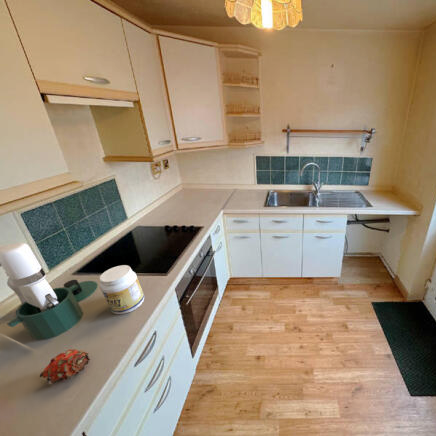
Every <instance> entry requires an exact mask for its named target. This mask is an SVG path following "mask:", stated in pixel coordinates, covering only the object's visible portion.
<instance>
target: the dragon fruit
mask: <svg viewBox="0 0 436 436" xmlns="http://www.w3.org/2000/svg"><path fill="white" fill-rule="evenodd" d="M90 361H91V359H90V357H89V351H86V350H83V349H78V350H77V349H67V350H66V351H65V352H60V353H59V354H57V355H56V356H55V357H53V358H51V359H50V362H49V363H48V365H47V366H46V367H45V368H44V369H43V370H42V371H41V372H40V374H39V377H40V378H43V379H46V381H48V382H47V384H48V385H49V386H53V384H54V383H55V382H57V381H58V380H60V379H61V378H62V381H63V382H65V381H68V380H69V379H72V378H73V377H74V375H77V374H78V373H80V372H82V371H83V370H84V369H85V366H87V365H88V364H89V363H90Z"/></svg>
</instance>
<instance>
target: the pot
mask: <svg viewBox="0 0 436 436" xmlns="http://www.w3.org/2000/svg"><path fill="white" fill-rule="evenodd" d="M77 288H79V286H78V285H75V284H74V285H72V286H71V287H69V288H66V287H64V286H63V287H55V288H52V289H53V291H54V292H55V294H56V296H57V300H56V301H58V302H59V305H57V306H56V307H53V308H51V309H48V310H46V311H44V312H41V313H40V312H39V311H38V309H37V308H36V306H33V305H31V304H29V303H27V302H26V301H25V302H24V303H23V304H22V303H21V304H20V305H19V306H18V307H17V308H16V310H15V316H16V317H15V318H13V319H11V320H10V321H7V322H6V324H7V326H8V327H12V328H14V327H15V326H17V325H18V324H20V323H21V324H22V326H23V327H24V328H25V329H26V331H27V332H28V334H29V335H30V336H31V338H33V339H34V340H36V341H45V340H49V339H52V338H55V337H58V336H60V335H61V334H64V333H66V332H68V331H69V330H70V329H72V328H73V327H75V326H76V325H77V324H78V323H79V322H80V321H81V320H82V318H83V316H84V310H83V308H81V305H80V304H79V302H77V300H76V298H75V296H74V295H73V293H72V291H74V290H75V289H77Z"/></svg>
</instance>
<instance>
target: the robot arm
mask: <svg viewBox="0 0 436 436" xmlns="http://www.w3.org/2000/svg"><path fill="white" fill-rule="evenodd" d="M0 267H2V268H3V271H6V273H7V274H8V276H7V277H8V278H9V277H10V279H11V280H12V282H13V283H14V285H15V286H16V287H18V288H19V290H20V292H21V293H22V295H23V297H24V298H25V300H26V302H27V303H29V304H31V305H33V306H36V308H37V309H38V311H39V312H40V313H41V312H42V311H41V310H40V308H44V307H46V308H47V309H51V308H53V307H56V306H57V305H59V302H58V301H56V300H57V296H56V294H55V292H54V291H53V289H54V288H52V286H51V285H50V283H49V282H48V281H47V279H46V276H47V273H46V272H45V271H44V269H43V267H42V265H41V264H40V262H39V260H38V258H37V257H36V255H35V253H34V252H33V250H32V248H31V247H30V246H29V244H28V243H25V242H15V243H11V244H2V243H1V244H0ZM6 273H5V274H6ZM7 274H6V275H7ZM48 301H49V303H48V304H47V302H48ZM50 304H52V306H51V308H50V306H49V305H50Z"/></svg>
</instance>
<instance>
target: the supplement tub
mask: <svg viewBox="0 0 436 436" xmlns="http://www.w3.org/2000/svg"><path fill="white" fill-rule="evenodd" d="M99 281H100V286H99V287H100V291H101V292H102V295H103V297H104V299H105V301H106V303H107V305H108V307H109V310H110V311H111V312H112V313H113V314H115V315H125V314H128V313H131V312H133V311H135V310H137V309H138V308H139V307H140V306H141V305H142V304H143V303H144V301H145V294H144V291H143V288H142V286H141V284H140V281H139V278H138V275H137V273H136V272H135V271H133V269H132V268H131V266H130V265H127V264H122V265H117V266H114V267H111V268H109V269H107V270H105V271H104V272H103V273H101V274H100V275H99Z"/></svg>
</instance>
